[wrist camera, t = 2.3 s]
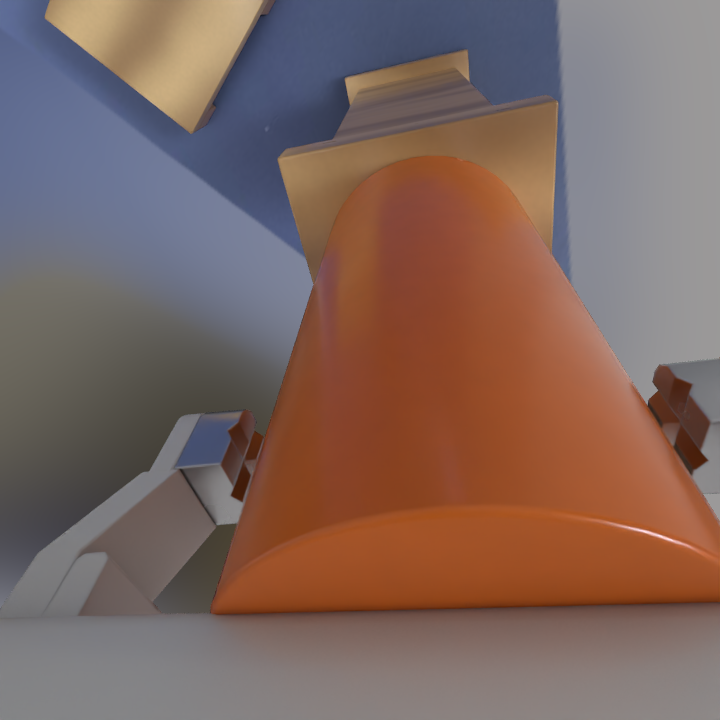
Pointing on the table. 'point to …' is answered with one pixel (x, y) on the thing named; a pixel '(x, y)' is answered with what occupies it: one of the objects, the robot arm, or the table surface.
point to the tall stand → (422, 142)
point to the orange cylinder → (459, 428)
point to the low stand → (164, 46)
